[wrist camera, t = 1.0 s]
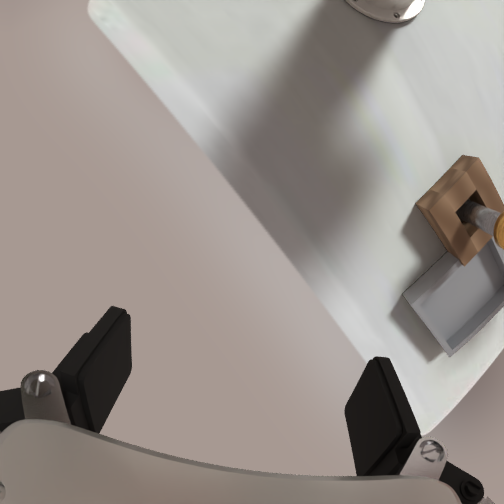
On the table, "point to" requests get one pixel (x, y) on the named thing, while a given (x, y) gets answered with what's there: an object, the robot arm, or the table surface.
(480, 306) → the tray
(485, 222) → the pin
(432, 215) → the socket block
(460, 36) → the table surface
